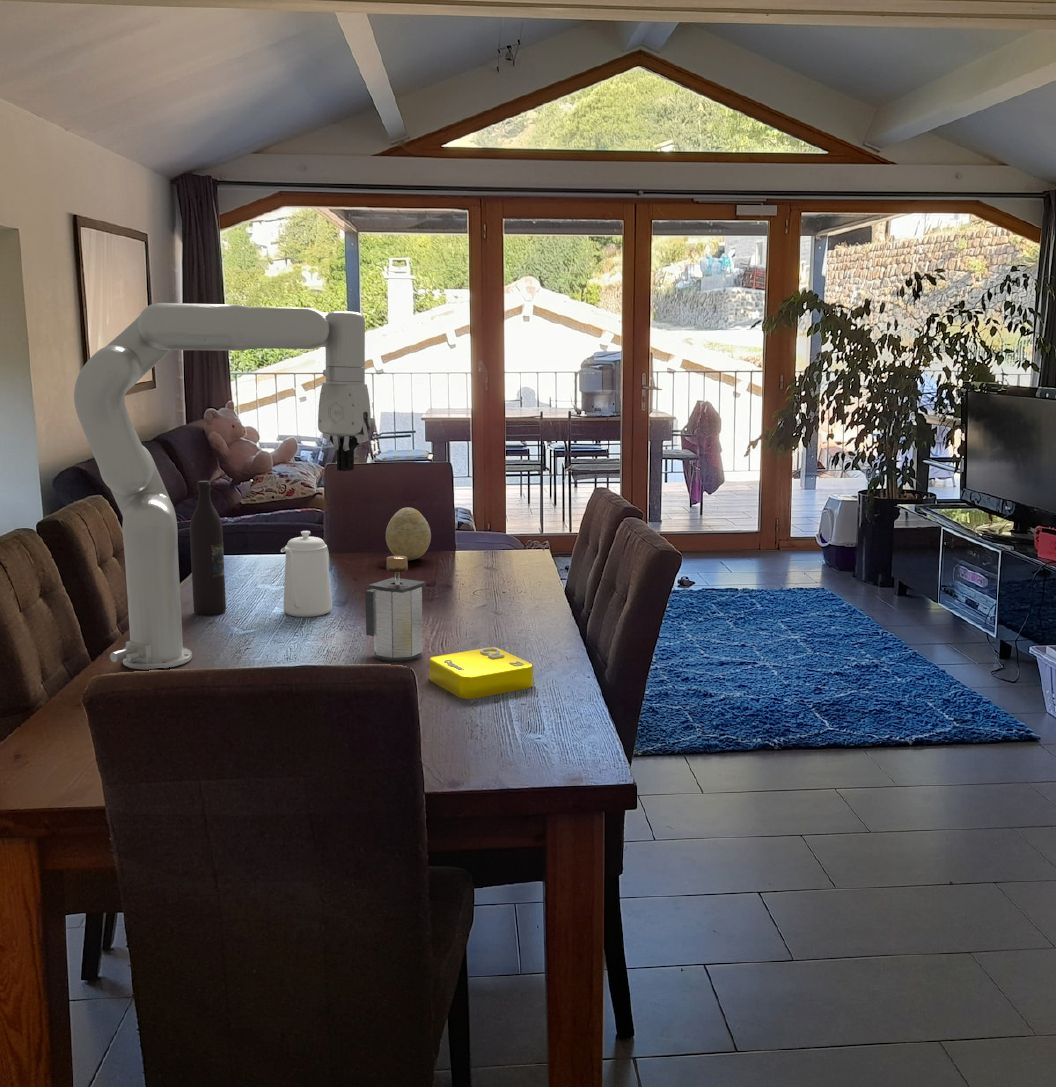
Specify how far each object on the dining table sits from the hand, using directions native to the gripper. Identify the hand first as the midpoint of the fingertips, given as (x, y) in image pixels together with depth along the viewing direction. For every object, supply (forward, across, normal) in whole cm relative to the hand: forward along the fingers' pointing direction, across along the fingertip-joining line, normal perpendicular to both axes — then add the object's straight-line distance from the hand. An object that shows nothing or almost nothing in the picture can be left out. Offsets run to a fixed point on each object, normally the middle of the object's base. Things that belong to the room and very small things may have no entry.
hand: (345, 470), depth 214 cm
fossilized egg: (+35, -42, +78) cm, 96 cm away
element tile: (+36, +36, -6) cm, 51 cm away
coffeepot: (+36, -25, +16) cm, 47 cm away
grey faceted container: (+36, +12, 0) cm, 38 cm away
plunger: (+30, +13, 0) cm, 33 cm away
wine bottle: (+37, -44, +5) cm, 57 cm away
